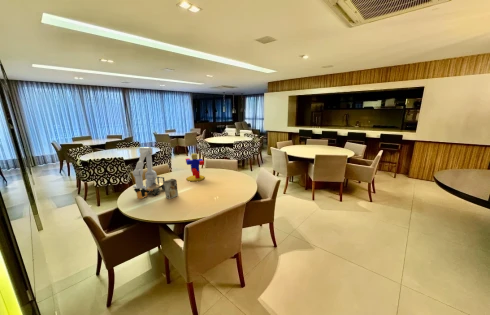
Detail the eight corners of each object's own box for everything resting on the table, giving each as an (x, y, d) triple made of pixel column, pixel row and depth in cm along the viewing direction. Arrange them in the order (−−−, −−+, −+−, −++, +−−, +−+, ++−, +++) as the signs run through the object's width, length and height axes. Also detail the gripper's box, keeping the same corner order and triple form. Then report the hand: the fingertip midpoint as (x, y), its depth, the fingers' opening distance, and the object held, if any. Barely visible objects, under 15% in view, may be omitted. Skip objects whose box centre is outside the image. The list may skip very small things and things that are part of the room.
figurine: (203, 174, 241) (201, 151, 234) (206, 180, 222) (205, 154, 215) (185, 177, 233) (183, 152, 226) (187, 183, 213) (185, 156, 206)
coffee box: (173, 194, 185) (172, 178, 181) (178, 195, 181) (176, 179, 178) (165, 197, 177) (163, 181, 173) (170, 199, 174) (168, 182, 170)
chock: (137, 198, 177) (136, 192, 175) (143, 194, 183) (142, 189, 182) (141, 198, 175) (140, 193, 174) (147, 195, 182) (146, 190, 180)
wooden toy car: (155, 195, 181) (153, 183, 178) (143, 194, 185) (142, 181, 182) (167, 189, 197) (166, 177, 194) (156, 187, 201) (155, 176, 198)
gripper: (129, 182, 173) (131, 196, 176) (141, 184, 168) (143, 198, 172) (135, 179, 179) (137, 193, 182) (148, 181, 175) (150, 195, 178)
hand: (141, 195), depth 177 cm, fingers closed on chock, 5 cm apart
